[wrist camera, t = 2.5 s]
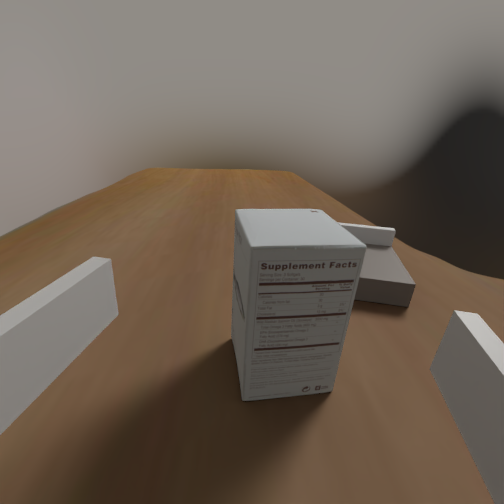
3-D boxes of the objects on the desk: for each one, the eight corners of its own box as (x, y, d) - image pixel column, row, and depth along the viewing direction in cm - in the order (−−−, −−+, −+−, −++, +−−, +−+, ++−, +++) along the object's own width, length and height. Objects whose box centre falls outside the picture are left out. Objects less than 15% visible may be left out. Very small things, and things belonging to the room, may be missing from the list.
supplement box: (229, 336, 28) (233, 206, 23) (304, 331, 30) (324, 207, 24) (239, 405, 22) (247, 244, 16) (335, 395, 23) (371, 243, 18)
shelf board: (384, 261, 46) (393, 227, 43) (408, 307, 34) (421, 265, 32) (279, 248, 48) (282, 215, 46) (270, 288, 37) (274, 247, 34)
